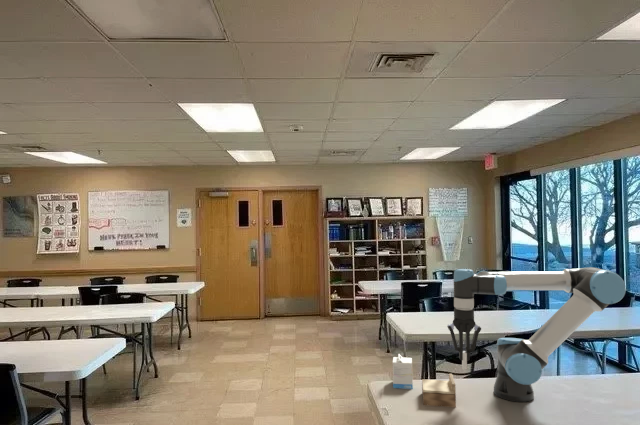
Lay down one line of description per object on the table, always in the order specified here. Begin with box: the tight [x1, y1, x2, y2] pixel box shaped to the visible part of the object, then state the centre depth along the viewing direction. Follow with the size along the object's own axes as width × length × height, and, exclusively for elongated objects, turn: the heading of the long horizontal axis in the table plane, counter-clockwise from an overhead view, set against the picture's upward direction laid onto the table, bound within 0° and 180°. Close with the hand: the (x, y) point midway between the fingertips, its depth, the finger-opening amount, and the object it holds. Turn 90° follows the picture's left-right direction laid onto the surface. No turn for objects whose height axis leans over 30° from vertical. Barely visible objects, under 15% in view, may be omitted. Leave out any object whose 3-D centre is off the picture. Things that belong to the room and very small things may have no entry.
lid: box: [421, 373, 457, 395], centre depth 169 cm, size 12×12×4 cm
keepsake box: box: [421, 383, 457, 408], centre depth 169 cm, size 12×12×5 cm
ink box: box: [392, 353, 414, 390], centre depth 186 cm, size 9×8×13 cm
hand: (464, 368), depth 167 cm, fingers closed
